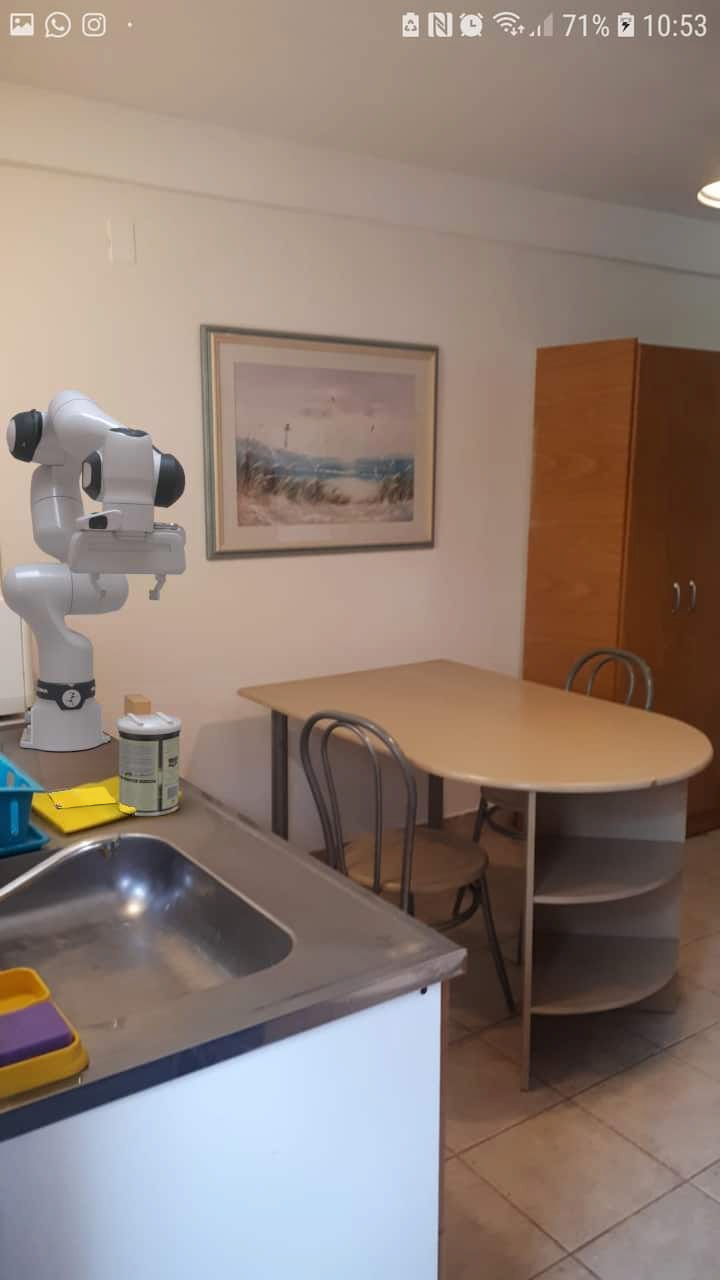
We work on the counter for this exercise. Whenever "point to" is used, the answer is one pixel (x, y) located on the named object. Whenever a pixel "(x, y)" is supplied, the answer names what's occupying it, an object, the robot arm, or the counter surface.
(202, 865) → the counter surface
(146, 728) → the lid
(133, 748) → the coffee can
